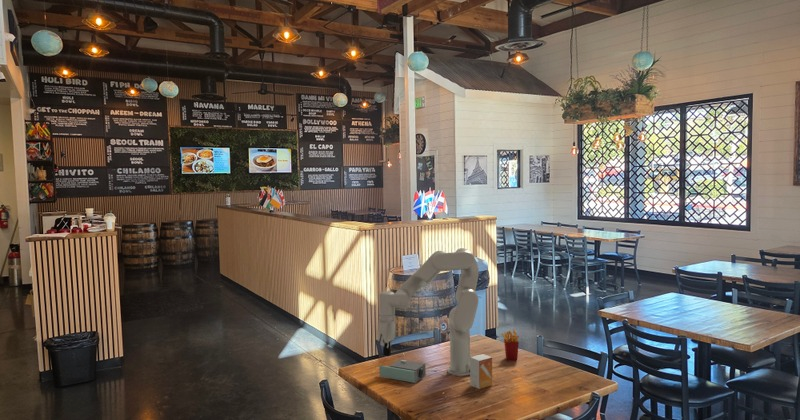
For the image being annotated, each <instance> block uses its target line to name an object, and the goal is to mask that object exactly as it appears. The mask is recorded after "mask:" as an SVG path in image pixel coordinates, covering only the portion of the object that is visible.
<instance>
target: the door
mask: <svg viewBox="0 0 800 420" xmlns="http://www.w3.org/2000/svg"><path fill="white" fill-rule="evenodd" d="M378 367H379V368H378V369H379V373H378V374H379V377H381V378H385V379H391V380H398V381H403V382H409V383H414V384H417V383H416V371H411V370H406V369H400V368H394V367H390V366H386V365H382V364H381V365H379V366H378Z"/></svg>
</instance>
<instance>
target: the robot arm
mask: <svg viewBox="0 0 800 420" xmlns="http://www.w3.org/2000/svg"><path fill="white" fill-rule="evenodd" d="M476 259H477V258H476V257H475V254H474V253H472V252H471V251H470V250H468V249H467V248H465V247H464V248H463V247H461V248H458V249H456V250H455V251H454V252H445V251H443V250H437V251H435V252H433V253H432V254H431V255H429V257H428V258H427V260H426V261H425V262H424V263H423V264H422V265H421V266H420V267H419V268H418V269H417V270H416V271H415V272H414V273H413V274H412V275H411V276H410V277H408V279H406V280H405V282H404V283H402V285H401V286H400V287H399V288H398V289H397V290H396V292H393V291H387V290H386V291H381V292H379V297H378V299H379V302H378V303H379V308H378V309H379V311H378V315H379V317H378V318H379V319H378V326H377V336H376V337H377V338H376V339H377V342H378V343H379V342H380V344H379V345H380V346H382V348H383V349H382V351H383V352H382V353H383V356H386V357H389V356H392V354H391V351H392V349H391V347H392V344H393V343H392V342H394V339H395V338H396V308H397V309H407V308H409V307H410V306H411V305H412V297H413V296H414V294H416V292H418V291H419V290H420V289H421V288H423V287H425V286H428V285H430V284H431V282H433V280H434V279H435V278H436V277H437V276H438V275H439V274H440V273H441V272H450V271H451V272H452V271H460V277H459V280H458V285H457V288H456V292H455V299H456V301H457V304H456V306H455V307H453V308H451V310H450V312H449V314H448V324H449V347H450V349H449V351H450V353H449V355H450V366H448V367H447V370H446V371H447V373H448V374H449V375H451V376H457V377H464V376H465V377H466V376H470V357H471V331H470V330H471V329H472V328H473V325H474V322H475V319H476V314H477V310H478V306H479V295H478V294H477V292H476V290H477V284H478V280H479V273H480V272H479V271H480V270H479V264H478V261H477V260H476Z"/></svg>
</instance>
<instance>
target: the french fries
mask: <svg viewBox="0 0 800 420" xmlns="http://www.w3.org/2000/svg"><path fill="white" fill-rule="evenodd" d="M501 336H502V337H503V343H504V353H505V360H506V361H508V362H517V361H518V355H519V345H520V342H519V341H518V340H519V338H520V336H519V335H517V332H516V330H515V329H512V331H511V330H509V331H506V332H504V333H502V334H501Z"/></svg>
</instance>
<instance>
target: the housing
mask: <svg viewBox="0 0 800 420" xmlns="http://www.w3.org/2000/svg"><path fill="white" fill-rule="evenodd" d="M389 367H394V368H400V369H406V370H411V371H416V383H415V384H417V383H418V382H420V381H421V380H422V379H423V378H424V377H425V378H426V375H427V373H426V372H427V371H426V363H425V362H419V361H413V360H407V359H401V358H399V359H397V360H396V361H395V362H393V363H391V364H390V365H389Z"/></svg>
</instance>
